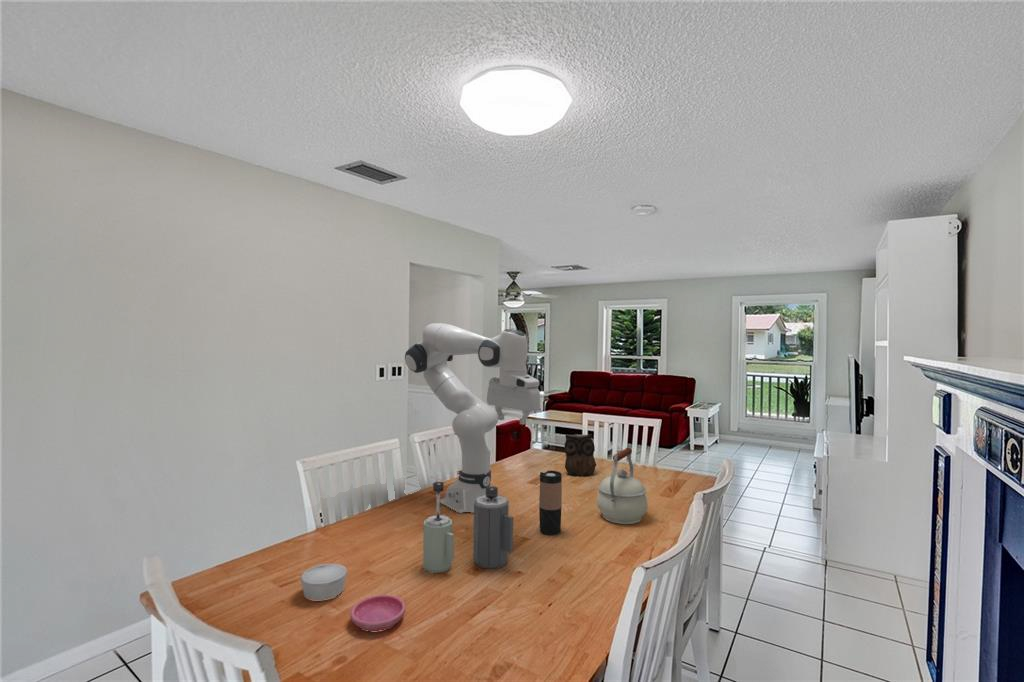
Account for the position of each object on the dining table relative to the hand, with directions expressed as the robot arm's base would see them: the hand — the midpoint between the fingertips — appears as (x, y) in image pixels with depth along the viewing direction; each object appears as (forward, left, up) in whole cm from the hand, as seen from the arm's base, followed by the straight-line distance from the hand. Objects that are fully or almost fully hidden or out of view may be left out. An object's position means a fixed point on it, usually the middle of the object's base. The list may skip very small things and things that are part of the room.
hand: (511, 421), depth 160 cm
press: (+6, -14, -39) cm, 42 cm away
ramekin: (-15, -56, -40) cm, 70 cm away
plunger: (+5, -14, -31) cm, 34 cm away
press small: (-3, -27, -39) cm, 48 cm away
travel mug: (+5, +16, -39) cm, 43 cm away
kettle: (+17, +46, -39) cm, 63 cm away
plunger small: (-4, -27, -25) cm, 37 cm away
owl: (-26, +84, -39) cm, 96 cm away
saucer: (+6, -54, -40) cm, 67 cm away
